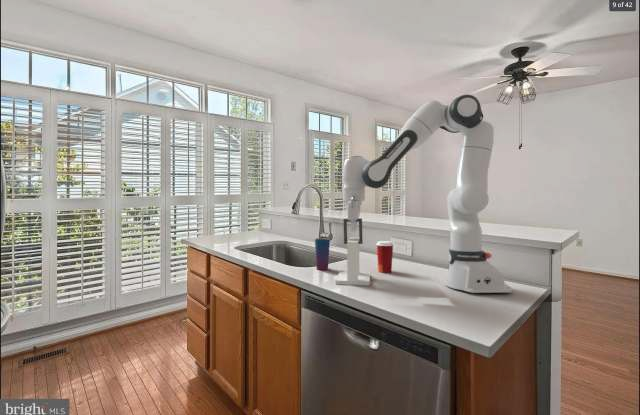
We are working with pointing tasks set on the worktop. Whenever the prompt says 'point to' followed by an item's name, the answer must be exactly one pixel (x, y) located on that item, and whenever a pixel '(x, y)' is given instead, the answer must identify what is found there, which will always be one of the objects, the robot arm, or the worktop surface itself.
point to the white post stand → (353, 267)
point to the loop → (359, 230)
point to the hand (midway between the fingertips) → (353, 230)
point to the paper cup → (384, 256)
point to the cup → (322, 253)
